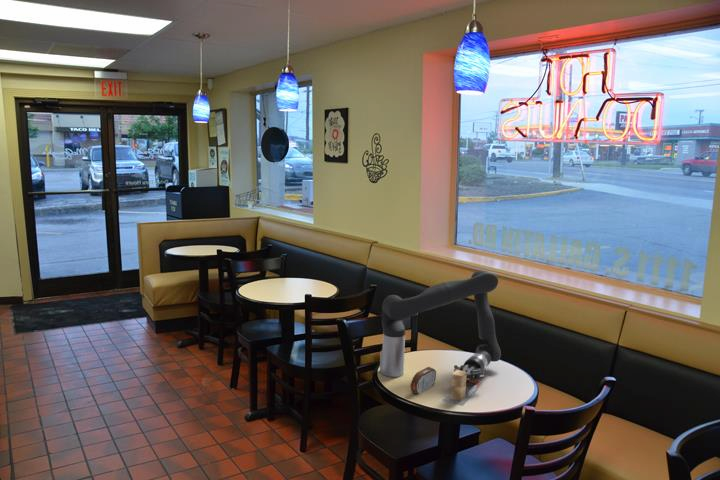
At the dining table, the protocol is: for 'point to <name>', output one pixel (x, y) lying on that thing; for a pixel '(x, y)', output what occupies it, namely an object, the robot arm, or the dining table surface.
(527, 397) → the dining table surface
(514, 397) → the dining table surface
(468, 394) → the long grey tray
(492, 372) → the dining table surface
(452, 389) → the oak block
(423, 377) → the tin
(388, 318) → the robot arm
